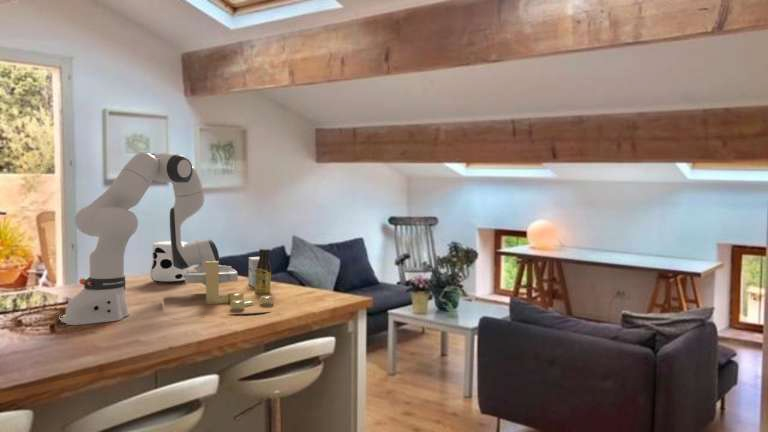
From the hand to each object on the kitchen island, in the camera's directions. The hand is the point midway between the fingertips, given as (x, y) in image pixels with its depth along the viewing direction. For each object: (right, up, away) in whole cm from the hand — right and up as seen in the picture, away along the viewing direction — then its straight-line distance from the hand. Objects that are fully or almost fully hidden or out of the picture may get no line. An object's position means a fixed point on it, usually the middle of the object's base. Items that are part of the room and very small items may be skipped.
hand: (213, 280), depth 244 cm
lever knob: (+5, -9, 0) cm, 10 cm away
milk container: (-33, -6, +48) cm, 58 cm away
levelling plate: (+14, -11, -4) cm, 18 cm away
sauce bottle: (+15, -9, +21) cm, 27 cm away
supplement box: (+8, -7, +44) cm, 46 cm away
